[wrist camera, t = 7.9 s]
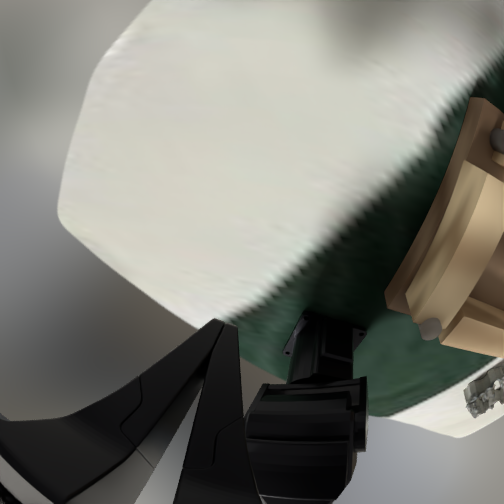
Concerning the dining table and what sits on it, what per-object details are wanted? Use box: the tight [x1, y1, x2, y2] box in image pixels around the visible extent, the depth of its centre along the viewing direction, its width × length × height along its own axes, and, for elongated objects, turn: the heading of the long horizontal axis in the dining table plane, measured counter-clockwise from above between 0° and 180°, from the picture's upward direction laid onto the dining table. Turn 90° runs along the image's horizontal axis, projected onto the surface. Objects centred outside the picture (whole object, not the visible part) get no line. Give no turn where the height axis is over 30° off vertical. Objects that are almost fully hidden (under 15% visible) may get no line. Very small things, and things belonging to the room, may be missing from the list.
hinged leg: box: [405, 160, 504, 340], centre depth 13 cm, size 11×3×4 cm, turn 171°
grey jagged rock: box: [464, 366, 504, 418], centre depth 22 cm, size 11×8×4 cm
